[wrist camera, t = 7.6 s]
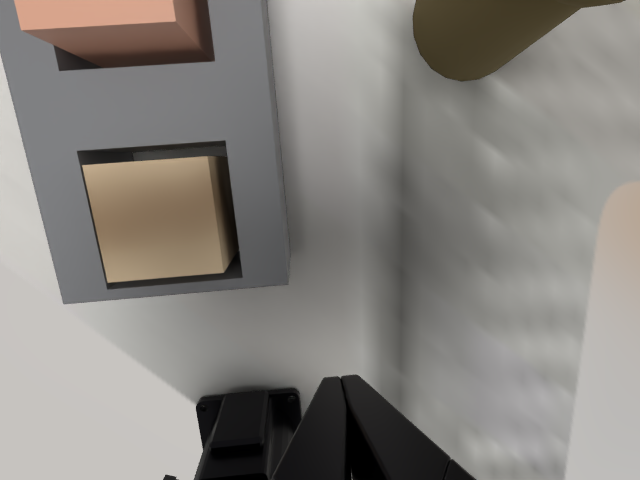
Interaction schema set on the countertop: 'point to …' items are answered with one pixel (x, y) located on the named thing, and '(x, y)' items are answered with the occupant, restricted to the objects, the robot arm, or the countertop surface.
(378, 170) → the countertop surface
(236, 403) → the robot arm
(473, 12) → the olive brown cylinder
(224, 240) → the oak key
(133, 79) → the grey socket block
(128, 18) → the terracotta key
